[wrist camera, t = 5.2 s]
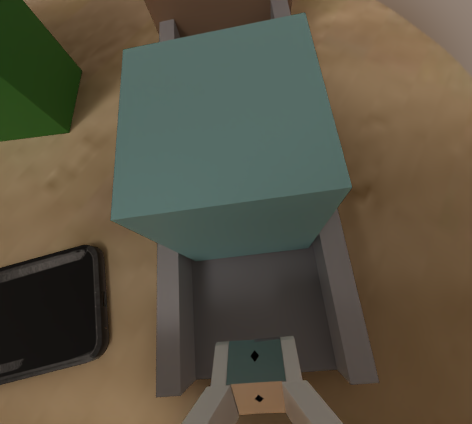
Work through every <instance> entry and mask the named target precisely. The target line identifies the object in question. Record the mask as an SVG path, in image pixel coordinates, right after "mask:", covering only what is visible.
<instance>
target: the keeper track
mask: <svg viewBox="0 0 472 424" xmlns="http://www.w3.org/2000/svg"><path fill="white" fill-rule="evenodd" d="M144 1H145V3H146V5H147V8H148V10H149V12H150V15H151V17H152V19H153V22H154V24H155V26H156V29H157V31H158V33H159V42H163V41H168V40H172V39H177V38H182V37H187V36H192V35H197V34H202V33H207V32H212V31H217V30H221V29H226V28H231V27H236V26H241V25H246V24H251V23H256V22H261V21H266V20H270V19H275V18H280V17H285V16H290V15H291V3H292V0H144ZM285 336H293V337H294V339H295V344H296V349H297V354H298V359H299V364H300V369H301V372H311V371H325V370H338V371H339V372H340V373H341V374H342V375H343V377H344V378H345V379H346V380H347V381H348V382H349V383H350V384H351V385H354V384H369V383H379V379H378V375H377V370H376V366H375V362H374V358H373V354H372V350H371V346H370V341H369V337H368V333H367V329H366V325H365V321H364V316H363V312H362V308H361V304H360V300H359V296H358V292H357V287H356V283H355V279H354V275H353V271H352V267H351V262H350V258H349V254H348V250H347V246H346V242H345V238H344V233H343V229H342V225H341V221H340V217H339V213H338V208H337V209H336V210H335V212H334V213H333V215H332V216H331V217H330V219H329V220H328V222H327V223H326V224H325V226H324V227H323V228H322V230H321V231H320V233H319V234H318V235H317V237H316V238H315V240H314V241H313V242H312V244H311V245H310V247H309V248H306V249H297V250H289V251H280V252H271V253H263V254H254V255H246V256H237V257H228V258H220V259H211V260H203V261H194V260H192V259H190V258H188V257H186V256H184V255H182V254H179V253H177V252H175V251H173V250H171V249H169V248H167V247H165V246H163V245H161V244H159V243H157V347H156V397H168V396H181V395H182V394H183V393H184V392H185V391H186V389H187V388H188V387H189V386H190V385H191V384H192V383H193V382H194V381H195V380H197V379H211V378H212V369H213V361H214V352H215V346H216V343H217V342H223V341H240V340H255V339H260V338H270V337H285Z"/></svg>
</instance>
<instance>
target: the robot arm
mask: <svg viewBox="0 0 472 424" xmlns="http://www.w3.org/2000/svg"><path fill="white" fill-rule="evenodd" d="M258 413H286V414H287V416H288V418H289V419H290V421H291V422H292V424H343V423H342V421H341V420H340V419H339V418H338V417H337V415H336V414H335V413H334V412H333V411H332V410H331V408H330V407H329V406H328V405H327V404H326V402H325V401H324V400H323V399H322V398H321V396H320V395H319V394H318V393H317V392H316V391H315V389H314V388H313V387H312V386H311V385H310V383H309V382H308V381H307V380H303V379H302V374H301V369H300V364H299V359H298V354H297V349H296V344H295V339H294V337H293V336H285V337H270V338H260V339H255V340H240V341H223V342H217V343H216V346H215V352H214V361H213V369H212V378H211V386H209V387H206V388H205V390H204V391H203V393H202V394H201V396H200V397H199V399H198V400H197V402H196V403H195V405H194V406H193V407H192V409H191V410H190V412H189V413H188V415H187V416H186V418H185V419H184V421H183V422H182V423H181V424H236V423H237V421H238V419H239V415H247V414H258Z"/></svg>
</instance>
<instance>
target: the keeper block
mask: <svg viewBox="0 0 472 424" xmlns="http://www.w3.org/2000/svg"><path fill="white" fill-rule="evenodd" d="M351 188H352V185H351V181H350V177H349V173H348V170H347V166H346V162H345V159H344V155H343V151H342V147H341V144H340V140H339V136H338V133H337V129H336V125H335V121H334V118H333V114H332V110H331V107H330V103H329V99H328V95H327V92H326V88H325V84H324V81H323V77H322V73H321V69H320V66H319V62H318V58H317V55H316V51H315V47H314V43H313V40H312V36H311V32H310V29H309V25H308V21H307V17H306V14H305V13H300V14H295V15H290V16H285V17H280V18H275V19H270V20H266V21H261V22H256V23H251V24H246V25H241V26H236V27H231V28H226V29H221V30H217V31H212V32H207V33H202V34H197V35H192V36H187V37H182V38H177V39H172V40H168V41H163V42H158V43H153V44H148V45H143V46H138V47H133V48H128V49H123V58H122V72H121V85H120V99H119V112H118V126H117V139H116V153H115V167H114V180H113V194H112V207H111V221H113V222H115V223H117V224H119V225H121V226H123V227H126V228H128V229H130V230H132V231H134V232H136V233H138V234H140V235H142V236H144V237H146V238H148V239H150V240H152V241H155V242H157V243H159V244H161V245H163V246H165V247H167V248H169V249H171V250H173V251H175V252H177V253H179V254H182V255H184V256H186V257H188V258H190V259H192V260H194V261H203V260H211V259H220V258H228V257H237V256H246V255H254V254H263V253H271V252H280V251H289V250H297V249H306V248H309V247H310V245H311V244H312V242H313V241H314V240H315V238H316V237H317V235H318V234H319V233H320V231H321V230H322V228H323V227H324V226H325V224H326V223H327V222H328V220H329V219H330V217H331V216H332V215H333V213H334V212H335V210H336V209H337V208H338V206H339V205H340V203H341V202H342V201H343V199H344V198H345V197H346V195H347V194H348V192H349V191H350V190H351Z"/></svg>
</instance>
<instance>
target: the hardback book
mask: <svg viewBox="0 0 472 424" xmlns="http://www.w3.org/2000/svg"><path fill="white" fill-rule="evenodd" d="M81 73H82V70H81V69H80V68H79V67H78V66H77V64H76V63H75V62H74V61H73V60H72V58H71V57H70V56H69V55H68V54H67V52H66V51H65V50H64V49H63V48H62V46H61V45H60V44H59V43H58V42H57V40H56V39H55V38H54V37H53V36H52V34H51V33H50V32H49V31H48V30H47V28H46V27H45V26H44V25H43V24H42V23H41V21H40V20H39V19H38V18H37V17H36V15H35V14H34V13H33V12H32V11H31V9H30V8H29V7H28V6H27V5H26V3H25V2H24V1H23V0H0V141H8V140H16V139H24V138H32V137H40V136H47V135H55V134H63V133H69V132H70V127H71V122H72V117H73V113H74V108H75V103H76V98H77V93H78V88H79V83H80V78H81Z"/></svg>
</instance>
